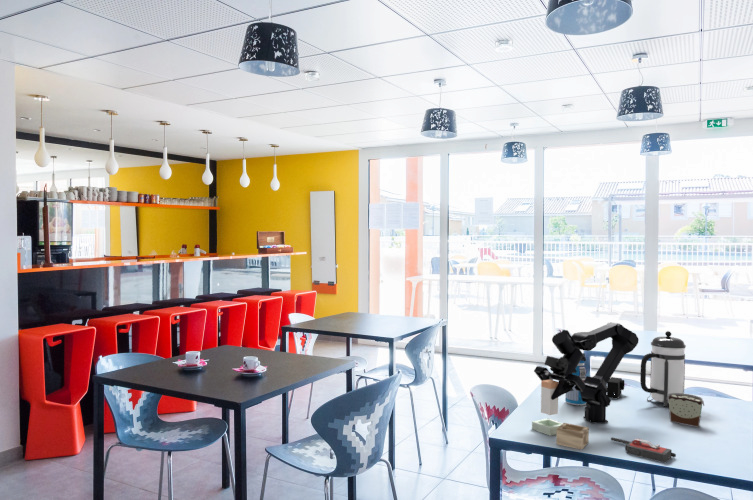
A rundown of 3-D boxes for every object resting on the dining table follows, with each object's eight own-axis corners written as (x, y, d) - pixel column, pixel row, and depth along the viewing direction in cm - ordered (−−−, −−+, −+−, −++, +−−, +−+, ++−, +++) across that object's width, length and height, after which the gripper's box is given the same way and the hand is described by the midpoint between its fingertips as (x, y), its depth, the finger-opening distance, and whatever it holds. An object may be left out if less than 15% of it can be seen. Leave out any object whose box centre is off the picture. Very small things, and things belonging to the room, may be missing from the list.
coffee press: (647, 396, 246) (649, 327, 246) (689, 403, 237) (691, 331, 237) (639, 405, 232) (641, 331, 232) (683, 412, 223) (685, 335, 223)
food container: (707, 424, 208) (708, 397, 208) (703, 428, 203) (703, 400, 203) (671, 417, 216) (671, 390, 216) (666, 420, 211) (666, 393, 211)
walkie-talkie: (678, 457, 174) (611, 441, 188) (678, 443, 174) (612, 428, 188) (669, 465, 168) (601, 448, 181) (669, 450, 168) (601, 434, 181)
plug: (548, 410, 200) (549, 379, 200) (557, 413, 196) (558, 381, 196) (540, 412, 198) (541, 380, 198) (549, 415, 194) (550, 383, 194)
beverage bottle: (565, 404, 230) (566, 355, 230) (564, 399, 239) (565, 352, 238) (587, 406, 228) (588, 357, 228) (586, 401, 236) (587, 353, 236)
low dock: (547, 425, 202) (548, 418, 202) (566, 432, 196) (566, 424, 196) (531, 428, 198) (532, 421, 198) (549, 435, 191) (549, 427, 191)
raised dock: (563, 437, 190) (563, 422, 190) (588, 442, 185) (588, 427, 185) (556, 444, 183) (556, 428, 183) (582, 449, 179) (582, 433, 178)
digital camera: (620, 399, 241) (620, 383, 241) (606, 397, 244) (607, 381, 244) (624, 394, 250) (624, 378, 250) (611, 392, 253) (611, 376, 253)
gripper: (537, 343, 207) (515, 377, 201) (580, 352, 191) (557, 388, 185) (552, 363, 211) (530, 396, 205) (595, 373, 195) (573, 409, 189)
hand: (546, 397), depth 196 cm, fingers closed on plug, 4 cm apart
